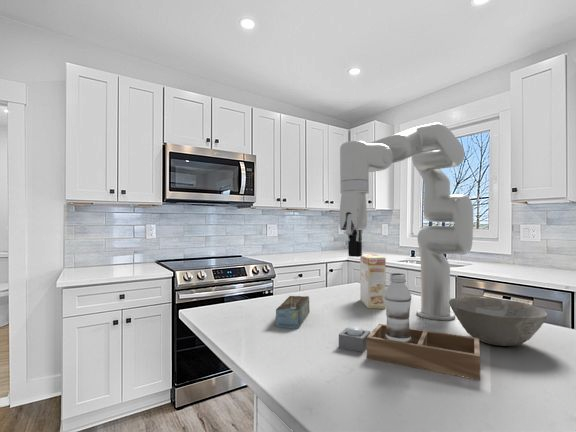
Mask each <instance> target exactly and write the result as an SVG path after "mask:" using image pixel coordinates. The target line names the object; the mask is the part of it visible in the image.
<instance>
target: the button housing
mask: <svg viewBox="0 0 576 432" xmlns="http://www.w3.org/2000/svg"><path fill="white" fill-rule="evenodd" d="M370 333H371V331H370V330H365V329H362V336H361V337H359V336H353V335H347V327H346V328H344V329H343V330H341V332H340V333H338V348H339V349H342V350H349V351H353V352H360V353H365V351H367V336H368V335H369V334H370Z"/></svg>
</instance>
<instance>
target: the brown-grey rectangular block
mask: <svg viewBox="0 0 576 432" xmlns="http://www.w3.org/2000/svg"><path fill="white" fill-rule="evenodd" d="M310 311H311V310H310V296H306V295H304V296H301V295H289V296H288V297H287V298H286V299H285V300H284V301H283V302H282V303H281V304H280V305H279V306H278V307H277V308H276V309H275V324H276V328H286V329H300V327H301V325H303V323H304V321H305V320H306V318H307V317H308V315H309V314H310Z"/></svg>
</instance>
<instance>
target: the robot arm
mask: <svg viewBox="0 0 576 432" xmlns="http://www.w3.org/2000/svg"><path fill="white" fill-rule="evenodd" d="M339 147H340V148H339V171H340V172H339V174H340V175H339V177H340V178H339V181H340V182H339V183H340V189H339V192H340V203H339V204H340V205H339V229H340V230H341V231H345V234H346V235H347V241H348V247H347V248H348V257H352V258H353V257H355V258H357V257H358V258H360V256H362V254H363V250H362V249H363V248H362V247H363V244H362V243H363V241H362V240H363V233H364V232H363V231H364V230H365V229H366V228H367V226H368V225H367V224H368V214H367V213H368V208H367V207H368V205H367V196H366V194H367V195H368V194H369V193H370V192H369V191H370V187H369V185H370V184H369V182H370V181H369V180H370V179H369V177H370V176H369V175H370V174H369V173H374V172H380V171H384V170H386V169H388V168H390V167H391V165H392V164H394V163H399V162H402V161H405V160H407V159H409V158H411V160H412V164H413V165H414V167H415V169H416V170H417V172H418V173H419V175H420V176H421V179H422V181H423V217H424V219H425V220H426V221H428V222H430V223H453V224H454V226H453V225H452V226H451V225H429V226H425V227H422V228H421V229H420V230H419V231H418V233H417V245H418V251H419V258H420V308H417V309H416V314H417V316H418V317H421V318H424V319H429V320H436V321H450V320H454V319H455V318H456V315H455V314H454V312H453V311H451V306H450V304H449V301H450V300H451V266H450V263H449V261H448V259H447V258H446V256H445V255H459V256H460V255H462V256H463V255H467V254H469V252H471V250H472V247H473V237H474V236H473V233H474V205H473V203H472V199H471V198H470V197H469V196H467V195H465V194H451V182H450V179H449V178H448V176H447V175H446V173H445V172H443V170H441V169H448V168H455V167H456V168H457V167H458V166H460V165H461V164H462V163H463V162H464V159H465V149H464V146H463V144H462V143H461V142H460V140H459V139H458V138H457V137H456V136H455V134H454V133H453V132H452V131H451V130H450V129H449V128H448V127H447V126H446V125H444V124H443V123H441V122H433V123H429V124H424V125H420V126H419V125H418V126H416V127H412V128H409V129H406V130H404V131H401V132H397V133H395V134H392V135H388V136H386V137H382V138H380V139H378V140H375V141H372V142H368V143H367V142H365V141H363V140H350V141H349V140H348V141H346V142H343V143H342V144H341V145H340V146H339ZM444 254H445V255H444Z"/></svg>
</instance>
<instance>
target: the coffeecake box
mask: <svg viewBox="0 0 576 432" xmlns="http://www.w3.org/2000/svg"><path fill="white" fill-rule="evenodd" d="M359 258H360V259H359V261H360V262H359V263H360V268H359V270H360V272H359V273H360V281H359V282H360V284H359V285H360V289H359V290H360V293H359V294H360V295H359V296H360V297H359V298H360V299H359V300H360V301H361V302H362V303H363V304H364V305H365V307H366V308H367V309H379V310H380V309H381V310H384V309H385V310H386V305H385V298H384V293H385V290H386V289H387V287H386V260H387V258H386V257H385V256H381V255H378V254H375V253H374V254H373V253H369V254H368V253H364V254H363V253H362V256H360V257H359Z"/></svg>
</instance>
